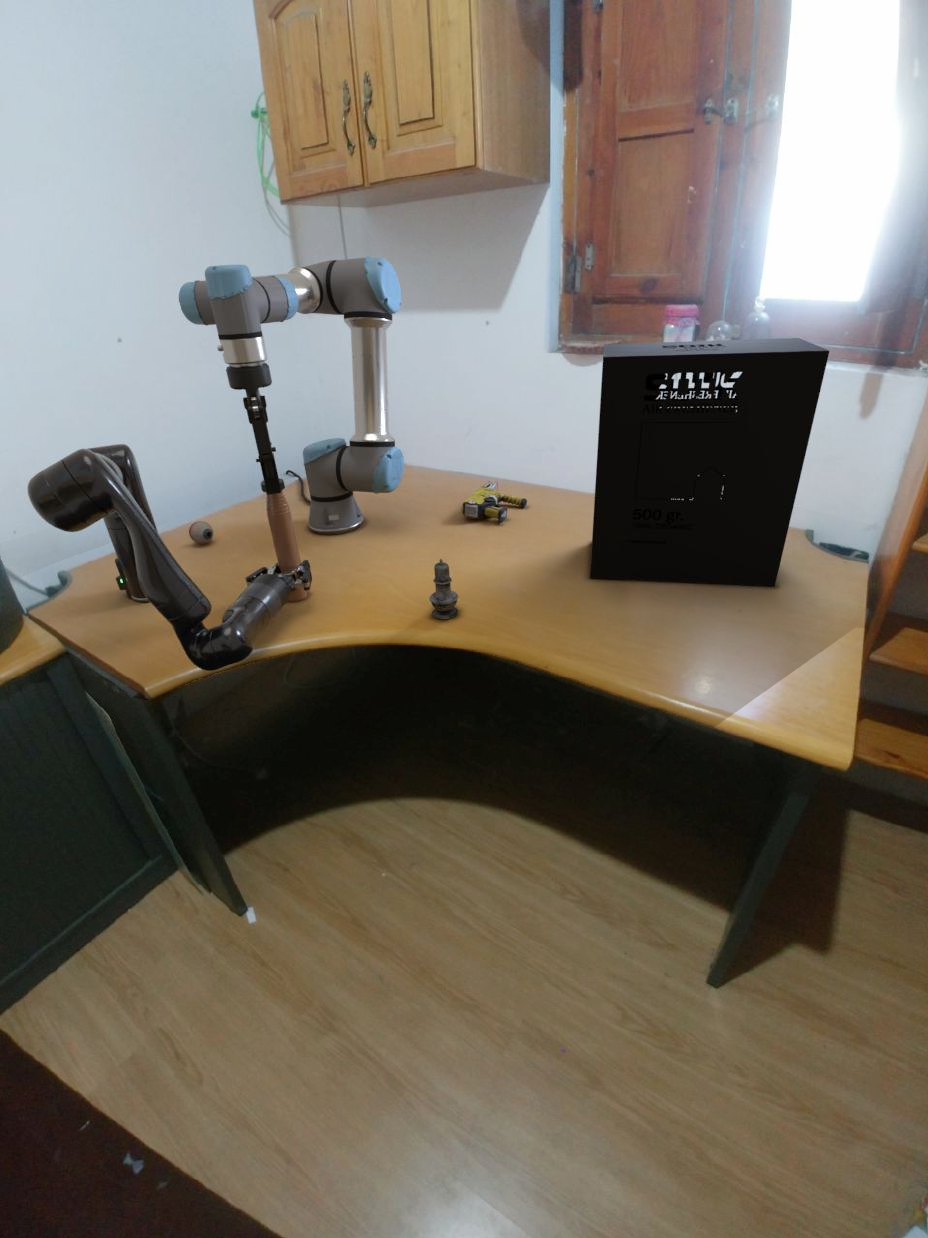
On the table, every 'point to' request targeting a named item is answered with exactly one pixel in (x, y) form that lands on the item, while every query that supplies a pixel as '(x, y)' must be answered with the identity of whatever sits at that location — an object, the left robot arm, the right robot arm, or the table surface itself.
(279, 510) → the bottle
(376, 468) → the right robot arm
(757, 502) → the cardboard box
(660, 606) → the table surface
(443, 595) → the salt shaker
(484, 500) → the toy gun
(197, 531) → the eyeball
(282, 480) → the cap
